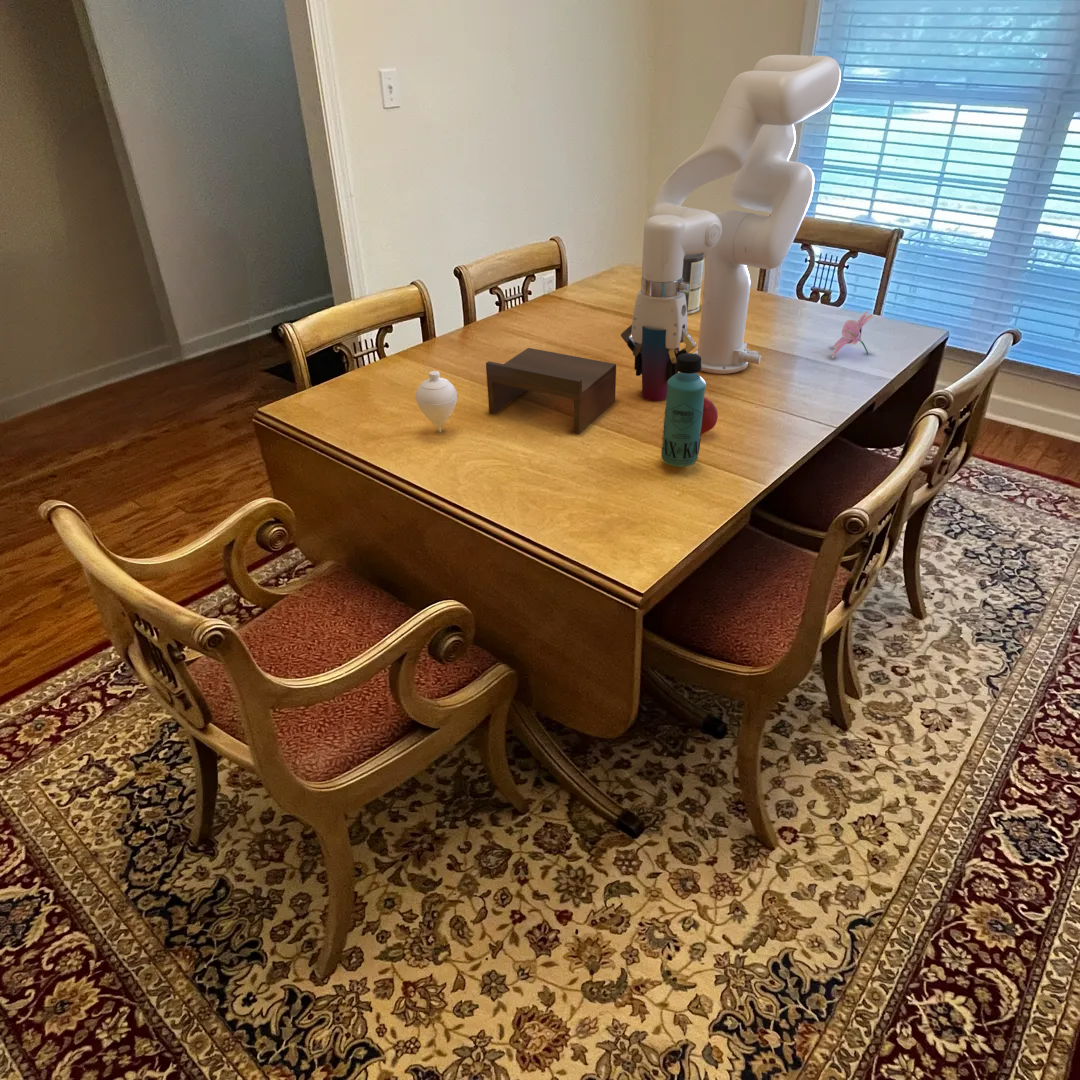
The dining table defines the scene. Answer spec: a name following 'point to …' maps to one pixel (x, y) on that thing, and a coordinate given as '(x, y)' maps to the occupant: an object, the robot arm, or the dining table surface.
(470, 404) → the dining table surface
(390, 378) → the dining table surface
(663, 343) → the cup
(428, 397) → the spinning top
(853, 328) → the lily
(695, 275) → the coffee can
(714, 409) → the onion
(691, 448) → the beverage bottle
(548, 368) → the shelf
